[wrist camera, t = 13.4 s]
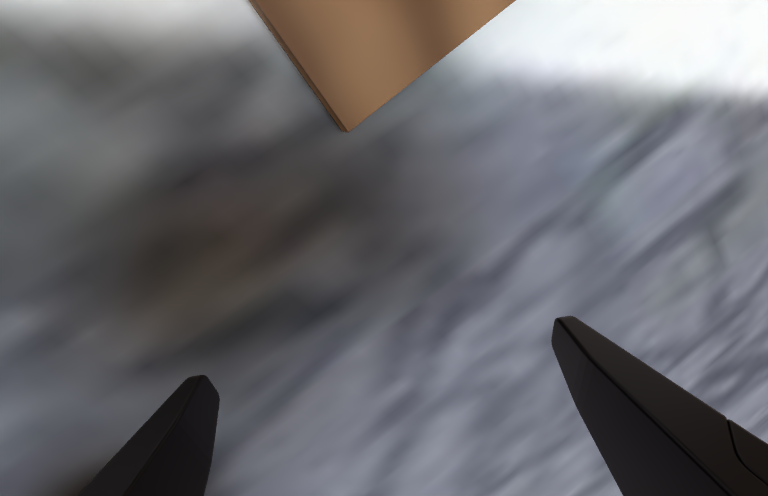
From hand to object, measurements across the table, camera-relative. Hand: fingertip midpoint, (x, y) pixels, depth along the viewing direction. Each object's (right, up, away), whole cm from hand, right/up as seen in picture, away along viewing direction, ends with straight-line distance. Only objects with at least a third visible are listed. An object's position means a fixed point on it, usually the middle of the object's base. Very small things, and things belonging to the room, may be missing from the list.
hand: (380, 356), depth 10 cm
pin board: (-1, +17, +6) cm, 18 cm away
